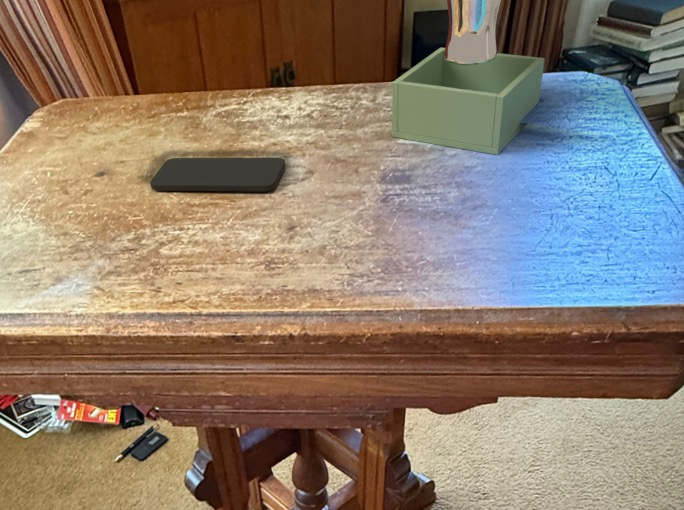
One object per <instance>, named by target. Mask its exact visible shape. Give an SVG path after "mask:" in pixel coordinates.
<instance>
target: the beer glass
mask: <svg viewBox="0 0 684 510" xmlns="http://www.w3.org/2000/svg"><path fill="white" fill-rule="evenodd" d="M446 2H447V3H446V4H447V13H448V32H447V33H448V34H447V39H446V43H445V47H444V48H445V52H444V59H445V60H446V61H447V62H450V63H452V64H457V65H480V64H485V63H488V62H491V61H493V60H494V59H495V58H496V56H497V53H498V50H497V40H496V28H497V27H496V26H497V20H498V15H499V9H500V6H501V2H502V0H446Z"/></svg>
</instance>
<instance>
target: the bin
mask: <svg viewBox="0 0 684 510" xmlns="http://www.w3.org/2000/svg"><path fill="white" fill-rule="evenodd" d="M444 52H445V47H439V48H438V49H436V50H435V51H433V52H432V53H431V54H430V55H428V56H427V57H425V58H424V59H422V60H421V61H420V62H418V63H417V64H416V65H414V66H413V67H411V68H410V69H409V70H407V71H406V72H405V73H403V74H402V75H400V76H399V77H397V78H396V79H394V80H393V81H392V82H391V123H392V124H391V137H393V138H398V139H404V140H410V141H416V142H421V143H426V144H433V145H438V146H444V147H450V148H455V149H461V150H468V151H473V152H479V153H484V154H489V155H496V156H498V155H499V154H500V153H501V152H503V150H504V149H505V148H506V147H507V146H508V145H509V144H510V143H511V141H512V140H513V139H514V138H515V137H516V136H517V135H518V134H520V132H521V131H522V129H524V127H526V125H527V124H528V122H521V121H522V120H523V119H524V118H525V117H527V115H528V114H529V113H530V112H531V111H532V110H533V109H534V108H535V107H536V106H537V105H538V103H540V99H541V89H542V82H543V75H544V68H545V67H544V66H545V60H546V59H545V57H537V56H529V55H518V54H509V53H498V52H497V56H496V58H495V59H494V60H493V61H491V62H488V63H485V64H480V65H457V64H452V63H450V62H447V61H446V60H445V59H444Z"/></svg>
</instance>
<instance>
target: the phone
mask: <svg viewBox="0 0 684 510" xmlns="http://www.w3.org/2000/svg"><path fill="white" fill-rule="evenodd" d="M285 168H286V161H285V159H284V158H282V157H173V158H169V159H166V160H165V161H164V162H163V164H162V165H161V166H160V168H159V169H158V170H157V172H156V173H155V174H154V176H153V177H152V178H151V179H150V182H149V183H150V184H149V185H150V188H151V189H152V191H153V190H154V191H161V192H163V191H164V192H166V191H167V192H182V191H183V192H270V191H272V190H274V189H275V188H276V187H277V186H278V184H279V181H280V179H281V178H282V175H283V173H284V170H285Z"/></svg>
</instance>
